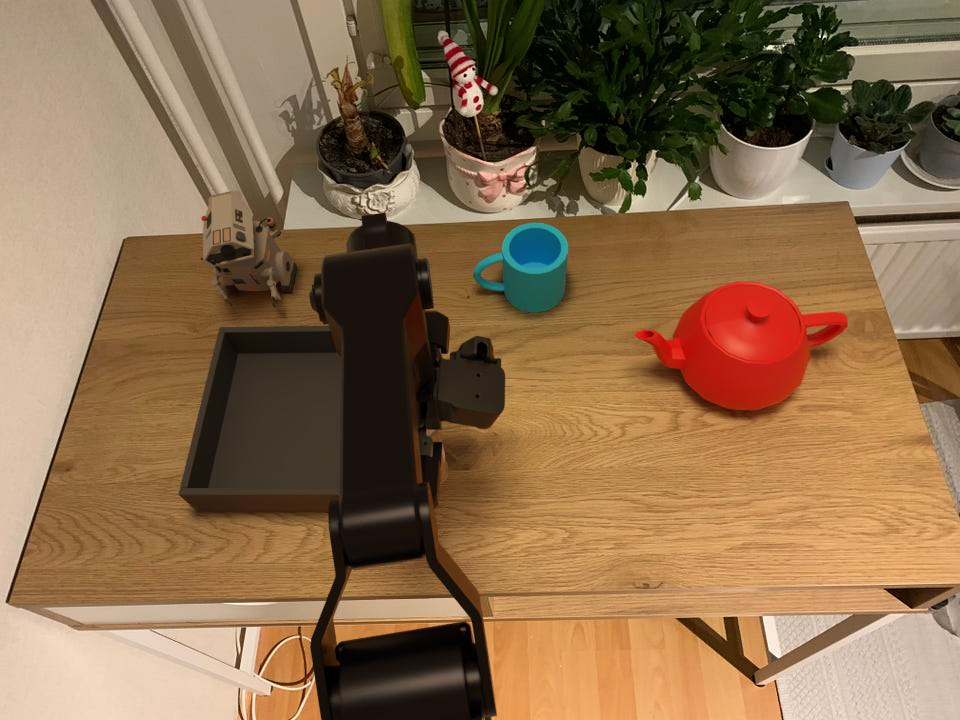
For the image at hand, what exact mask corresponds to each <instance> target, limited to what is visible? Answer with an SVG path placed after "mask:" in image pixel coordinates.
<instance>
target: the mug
mask: <svg viewBox="0 0 960 720" xmlns="http://www.w3.org/2000/svg"><path fill="white" fill-rule="evenodd" d="M501 248H502V249H501V252H496V253H494V254H491V255H489V256H486V257H485V258H483V259H482V260H480V261H479V262H478V263H477V264H476V266H475V267H474V269H473V274H472V276H473V278H474V281H475V283H476V284H477V285H478V286H480V287H481V288H484V289H486V290H489V291H495V292H503V293H504V296H505V298H506V300H507V301H508V302H509V303H510V305H511V306H513V307H515V308H516V309H517V310H519V311H522V312H525V313H542V312H543V313H544V312H547V311H549V310H551V309H553V308H554V307H557V305H558V304H559V303H560V302H561V301H562V299H563V297H564V295H565V292H566V282H567V270H568V259H569V258H568V257H569V243H568V241H567V238H566V236H565V235H564V234H563V233H562V232H561V231H560V229H558V228H556V227H554V226H553V225H550V224H546V223H543V222H528V223H523V224H520V225H518V226H516V227H515V228H513V229H511V230H510V231H509V232H508V233H507V234H506V236H505V237H504V240H503V241H502V245H501ZM499 262H502V280H503V281H502V282H495V281H490V280H487V279H485V278H483V277H482V272H483V271H484V270H485V269H486V268H488V267H489V266H491V265H494V264H497V263H499Z"/></svg>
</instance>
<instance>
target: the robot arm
mask: <svg viewBox="0 0 960 720" xmlns="http://www.w3.org/2000/svg"><path fill="white" fill-rule="evenodd" d="M360 217H361V225H360V226H358V227H356V228H355V229H354V230H353V231H351V233H349V236H348V237H347V239H346V252H339V253H333V254H328V255H324V257H323V258H322V260H321V265H320V272H319V273H318V272H317V273H315V274H314V276H313V284H311V290H310V291H309V294H308V296H309V303H310V306H311V309H312V310H313V311H314V312H316V313H317V314H318V319H319V321H320V322H321V323H322V325H323V326H329V328H330V332H331V335H332V338H333V341H334V344H335V347H336V351H337V353H338V355H339V356H340V357H341V426H340V496H334V497H331V499H330V501H329V510H328V512H327V515H328V520H327V521H328V533H329V540H330V547H331V553H332V554H331V555H332V561H333V567H334V574H335V575H334V576H335V577H334V579H333V582H332V584H331V587H330V589H329V591H328V595H327V597H326V600H325V602H324V605H323V608H322V610H321V613H320V615H319V618H318V620H317V622H316V625H315V628H314V630H313V633H312V636H311V638H310V645H309V649H310V656H311V662H312V669H313V676H314V682H315V688H316V695H317V702H318V708H319V715H320V720H493V717H497V716H498V712H497V710H498V709H497V703H496V695H495V688H494V682H493V674H492V667H491V661H490V654H489V647H488V642H487V640H488V639H487V634H486V628H485V622H484V621H485V620H484V614H483V609H482V607H483V606H482V602H481V601H482V600H481V595H480V593H479V590H478V589H477V587H476V586H475V585H474V583H473V582H472V581H471V579H469V578H468V577H469V576H467V575H466V574H465V573H464V571H463V570H462V569H461V567H460V566H459V565H458V564H457V562H456V561H455V559H454V558H453V557H452V556H451V555H450V554H449V552H448V551H447V550H446V548H445V547H444V546H443V545H442V543H441V542H440V540H439V539H440V538H439V534H438V525H437V521H436V513H435V510H436V509H437V508H438V507H439V506H440V493H441V485H440V480H441V470H440V468H441V458H442V443H443V441H442V442H433V440H432V438H431V437H429V436H427V435H426V432H427V429H428V430H439V431H441V430H442V429H443V427H442V425H443V422H445V423H450V424H455V425H459V426H460V425H461V426H468V427H473V428H477V429H479V430H489V429H490V428H491V427H492V426H493V425H494V424H495V422H496V421H497V420H498V418H499V417H500V416H501V414H502V413H503V412H504V410H505V407H506V372H505V370H504V368H503V367H502V358H501V357H495V356H494V346H493V343H492V339H491V338H490V337H486V336H480V335H475V336H473V337H471V338H469V339H468V340H465V341H464V342H462V343H461V344H460V346H459V348H458V349H457V350H455V351H454V350H453V351H451V352H450V338H451V325H450V317H448V316H447V315H445V314H444V313H442V312H440V311H438V310H433V309H435V302H434V292H433V283H432V275H431V269H430V263H429V259H428V257H420V258H418V257H419V255H418V249H417V242H416V236H415V233H413V232H412V231H411V230H410V228H408V227H407V226H405V225H403V224H401V223H399V222H396V221H391V220H388V217H387V214H386V212H385V211H384V212H377V213H371V214H364V215H361V216H360ZM448 354H449V358H447V359H446V358H444V357H443V355H448ZM424 560H426V563H427V565H428V567H429V569H430V570H431V572H432V573H433V574H434V575H435V577H436V578H437V579H438V580H439V582H441V584H442V585H443V587H444V588H445V589H446V590H447V591H448V593H450V595H451V596H452V597H453V599H454V600H455V601H456V603H457V604H458V605H459V606H460V607H461V609H462V610H463V611H464V613H465V614H466V615H467V616H468V617H469V619H470V621H471V624H470V623H469V622H467V621H466V620H463V621H458V622H451V623H445V624H438V625H434V626H433V625H432V626H425V627H422V628H421V627H420V628H413V629H408V630H402V631H396V632H390V633H383V634H378V635H370V636H366V637H358V638H353V639H346V640H341V641H339V642H338V641H337V634H336V629H335V621H334V616H335V614H336V612H337V609H338V606H339V604H340V602H341V599H342V596H343V594H344V592H345V589H346V586H347V584H348V581H349V579H350V577H351V573H352V570H353V571H360V570H366V569H373V568H378V567H386V566H390V565H391V566H392V565H397V564H404V563H410V562H415V561H424Z"/></svg>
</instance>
